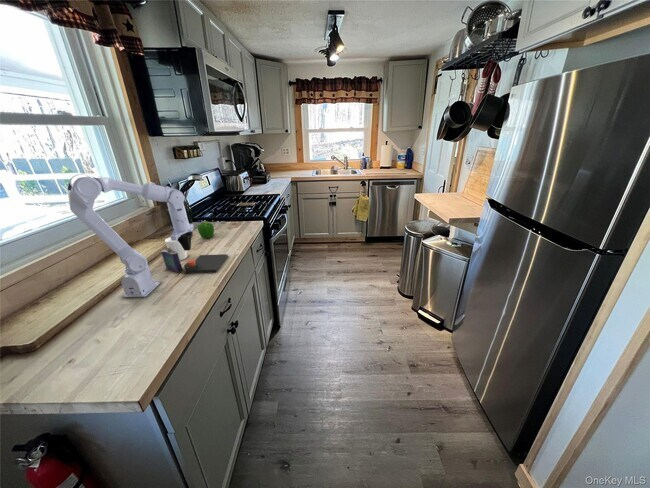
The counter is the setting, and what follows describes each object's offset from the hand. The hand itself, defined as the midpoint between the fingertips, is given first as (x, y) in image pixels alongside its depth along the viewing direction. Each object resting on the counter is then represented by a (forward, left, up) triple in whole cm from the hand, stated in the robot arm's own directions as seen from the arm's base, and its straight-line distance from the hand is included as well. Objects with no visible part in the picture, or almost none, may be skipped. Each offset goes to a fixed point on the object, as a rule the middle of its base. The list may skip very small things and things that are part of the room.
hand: (187, 249), depth 108 cm
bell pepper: (+39, +9, -10) cm, 41 cm away
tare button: (0, 0, -7) cm, 7 cm away
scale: (+5, -5, -10) cm, 12 cm away
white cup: (+13, +12, -10) cm, 21 cm away
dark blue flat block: (+1, +8, -10) cm, 13 cm away
